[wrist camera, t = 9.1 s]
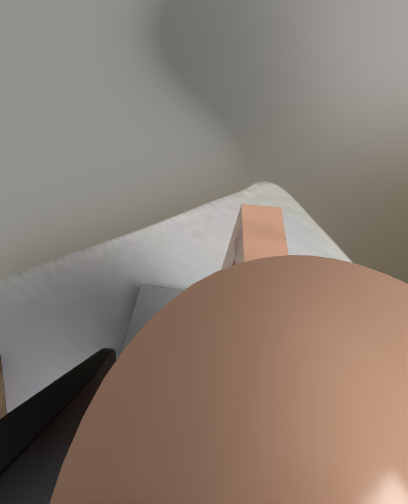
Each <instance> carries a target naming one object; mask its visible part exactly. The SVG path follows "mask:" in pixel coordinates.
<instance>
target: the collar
mask: <svg viewBox="0 0 408 504" xmlns="http://www.w3.org/2000/svg"><path fill="white" fill-rule="evenodd" d="M6 414H7V413H6V403H5V394H4V385H3V375H2V366H1V356H0V419H1V418H2V417H3V416H5V415H6Z"/></svg>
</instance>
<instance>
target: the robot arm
mask: <svg viewBox="0 0 408 504" xmlns="http://www.w3.org/2000/svg"><path fill="white" fill-rule="evenodd" d="M115 362H116V352H115V349H113V348H103V349H101V350H99V351H98V352H96V353H95V354H94V355H92V356H91V357H89V358H88V359H86V360H85V361H83V362H82V363H80V364H79V365H78V366H76V367H75V368H73V369H72V370H70V371H69V372H67V373H66V374H64V375H63V376H62V377H60V378H59V379H57V380H56V381H54V382H53V383H51V384H50V385H48V386H47V387H46V388H44V389H43V390H41V391H40V392H38V393H37V394H35V395H34V396H32V397H31V398H30V399H28V400H27V401H25V402H24V403H22V404H21V405H19V406H18V407H17V408H15V409H14V410H12V411H11V412H9V413H8V414H6V415H5V416H3V417H2V418H1V419H0V504H50V501H51V498H52V495H53V492H54V489H55V485H56V482H57V479H58V476H59V473H60V470H61V467H62V464H63V462H64V460H65V457H66V455H67V453H68V450H69V448H70V446H71V443H72V441H73V439H74V436H75V434H76V432H77V429H78V427H79V425H80V422H81V420H82V418H83V416H84V414H85V412H86V410H87V409H88V407H89V405H90V403H91V401H92V399H93V398H94V396H95V394H96V392H97V390H98V389H99V387H100V385H101V383H102V381H103V379H104V378H105V376H106V375H107V373H108V372H109V370H110V369H111V368H112V366H113V365H114V363H115Z"/></svg>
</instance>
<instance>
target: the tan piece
mask: <svg viewBox="0 0 408 504" xmlns="http://www.w3.org/2000/svg"><path fill="white" fill-rule="evenodd" d="M50 504H408V284H406V283H404V282H402V281H400V280H397V279H395V278H393V277H391V276H389V275H387V274H384V273H381V272H378V271H375V270H373V269H370V268H367V267H364V266H361V265H357V264H354V263H350V262H346V261H341V260H337V259H332V258H324V257H317V256H302V255H288V249H287V242H286V236H285V230H284V223H283V217H282V210H281V208H280V207H268V206H256V205H245V204H242V205H241V208H240V211H239V214H238V218H237V221H236V224H235V227H234V230H233V234H232V237H231V240H230V243H229V246H228V250H227V253H226V256H225V259H224V263H223V266H222V269H221V270H220V271H217V272H215V273H213V274H212V275H210V276H208V277H206V278H204V279H202V280H200V281H198V282H196V283H195V284H193V285H192V286H190V287H189V288H187V289H186V290H185V291H183V292H182V293H180V294H179V295H177V296H176V297H175V298H173V299H172V300H171V301H169V302H168V303H167V304H166V305H165V306H164V307H163V308H162V309H161V310H160V311H158V312H157V313H156V314H155V315H154V316H153V317H152V318H151V319H150V320H149V321H148V322H147V323H146V324H145V325H144V326H143V328H142V329H141V330H140V331H139V332H138V333H137V334H136V336H135V337H134V338H133V339H132V340H131V341H130V342H129V344H128V345H127V346H126V347H125V349H124V350H123V352H122V353H121V355H120V356H119V357H118V359H117V360H116V362H115V363H114V365H113V366H112V368H111V369H110V370H109V372H108V373H107V375H106V376H105V378H104V379H103V381H102V383H101V385H100V387H99V389H98V390H97V392H96V394H95V396H94V398H93V399H92V401H91V403H90V405H89V407H88V409H87V410H86V412H85V414H84V416H83V418H82V420H81V422H80V425H79V427H78V429H77V432H76V434H75V436H74V439H73V441H72V443H71V446H70V448H69V450H68V453H67V455H66V457H65V460H64V462H63V464H62V467H61V470H60V473H59V476H58V479H57V482H56V485H55V489H54V492H53V495H52V498H51V501H50Z"/></svg>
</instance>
